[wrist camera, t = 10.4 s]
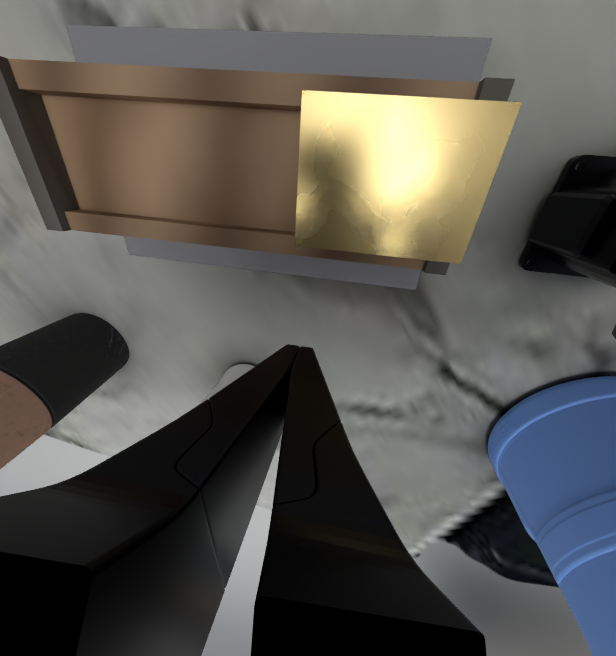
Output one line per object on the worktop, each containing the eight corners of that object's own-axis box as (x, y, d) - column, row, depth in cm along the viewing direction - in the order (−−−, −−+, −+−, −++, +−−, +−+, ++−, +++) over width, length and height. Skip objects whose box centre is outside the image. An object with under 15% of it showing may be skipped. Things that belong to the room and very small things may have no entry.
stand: (485, 45, 13) (525, 4, 10) (413, 286, 20) (424, 305, 17) (78, 32, 15) (9, -6, 12) (136, 252, 22) (100, 264, 19)
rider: (456, 132, 11) (522, 102, 7) (425, 237, 13) (461, 264, 9) (320, 123, 12) (302, 90, 7) (312, 226, 14) (294, 245, 10)
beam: (483, 98, 11) (514, 79, 9) (431, 261, 15) (445, 274, 13) (35, 73, 13) (-27, 53, 11) (85, 223, 17) (47, 229, 15)
